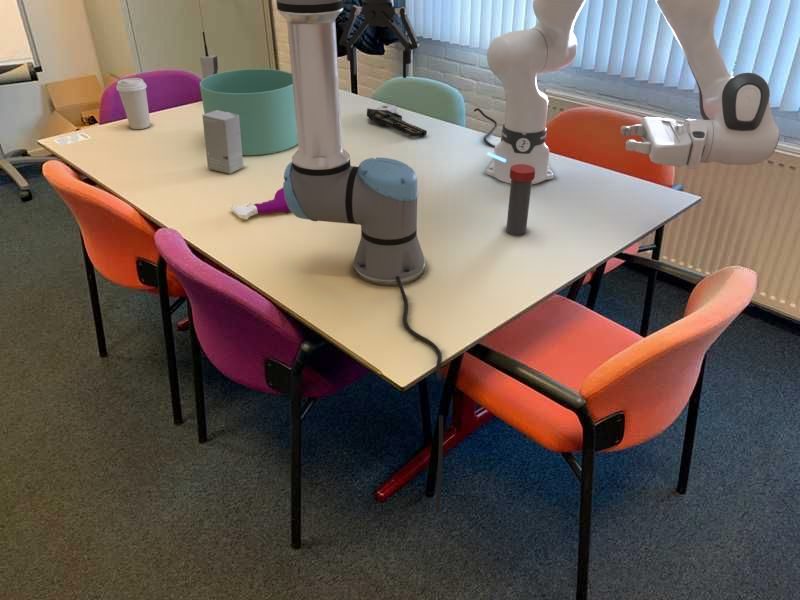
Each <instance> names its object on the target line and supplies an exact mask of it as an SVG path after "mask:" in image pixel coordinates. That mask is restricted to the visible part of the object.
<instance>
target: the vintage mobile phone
mask: <svg viewBox="0 0 800 600" xmlns="http://www.w3.org/2000/svg"><path fill="white" fill-rule="evenodd" d="M202 39H203V47H204V55H202V56H200V57H199V58H200V59H199V61H200V66H201V71H202V78H203V79H204V78H206V77H208V76H211V75H214V74H217V73H218V70H219V61H218V55H216V54H215V55H214V54H209V52H208V46H207V42H206V34H205V32H204V31H202ZM203 79H202V80H203Z"/></svg>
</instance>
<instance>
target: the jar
mask: <svg viewBox="0 0 800 600" xmlns="http://www.w3.org/2000/svg"><path fill="white" fill-rule="evenodd" d="M532 185H533V184H532V181H529V182H517V181H514V180H512V179H511V184H510V188H509V196H508V197H509V199H508V207H507V218H506V227H505V231H506V233H507V234H509V235H512V236H523V235H525V234H526V233H527V226H528V217H529V209H530V203H531V202H530V200H531V193H532Z"/></svg>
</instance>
